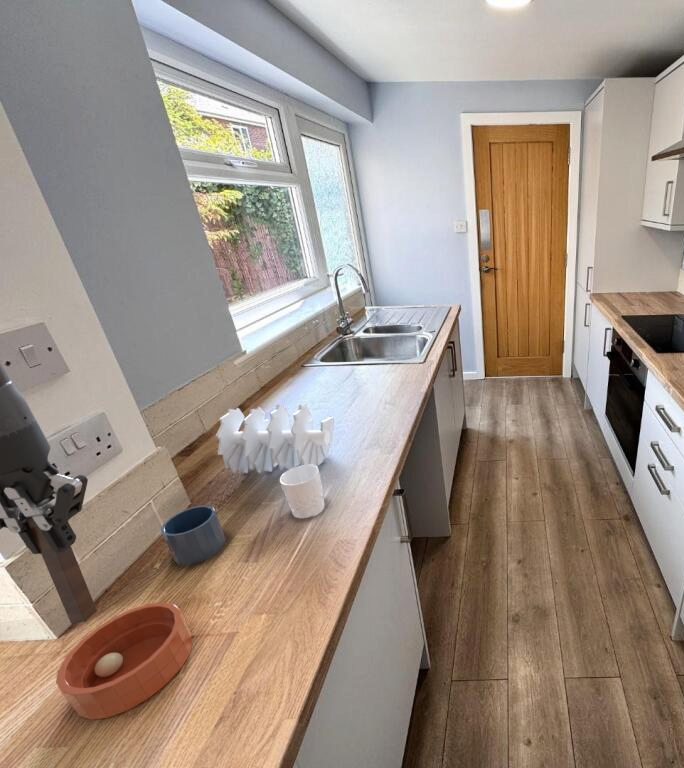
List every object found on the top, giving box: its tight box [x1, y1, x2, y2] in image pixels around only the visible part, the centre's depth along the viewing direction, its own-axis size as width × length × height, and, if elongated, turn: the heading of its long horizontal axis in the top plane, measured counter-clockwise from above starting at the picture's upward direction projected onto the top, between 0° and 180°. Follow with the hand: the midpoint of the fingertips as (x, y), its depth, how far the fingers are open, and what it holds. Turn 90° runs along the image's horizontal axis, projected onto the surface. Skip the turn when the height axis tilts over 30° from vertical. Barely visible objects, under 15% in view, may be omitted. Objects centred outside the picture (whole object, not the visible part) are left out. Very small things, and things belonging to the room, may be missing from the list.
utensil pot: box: [160, 505, 227, 566], centre depth 82 cm, size 9×9×8 cm
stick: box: [26, 509, 98, 624], centre depth 52 cm, size 2×2×16 cm
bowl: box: [55, 601, 194, 720], centre depth 60 cm, size 14×14×6 cm
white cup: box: [279, 464, 325, 519], centre depth 92 cm, size 8×8×10 cm
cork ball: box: [95, 653, 123, 677], centre depth 60 cm, size 3×3×3 cm
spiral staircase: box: [214, 404, 335, 474], centre depth 108 cm, size 18×18×25 cm
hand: (55, 547), depth 51 cm, fingers closed on stick, 2 cm apart
